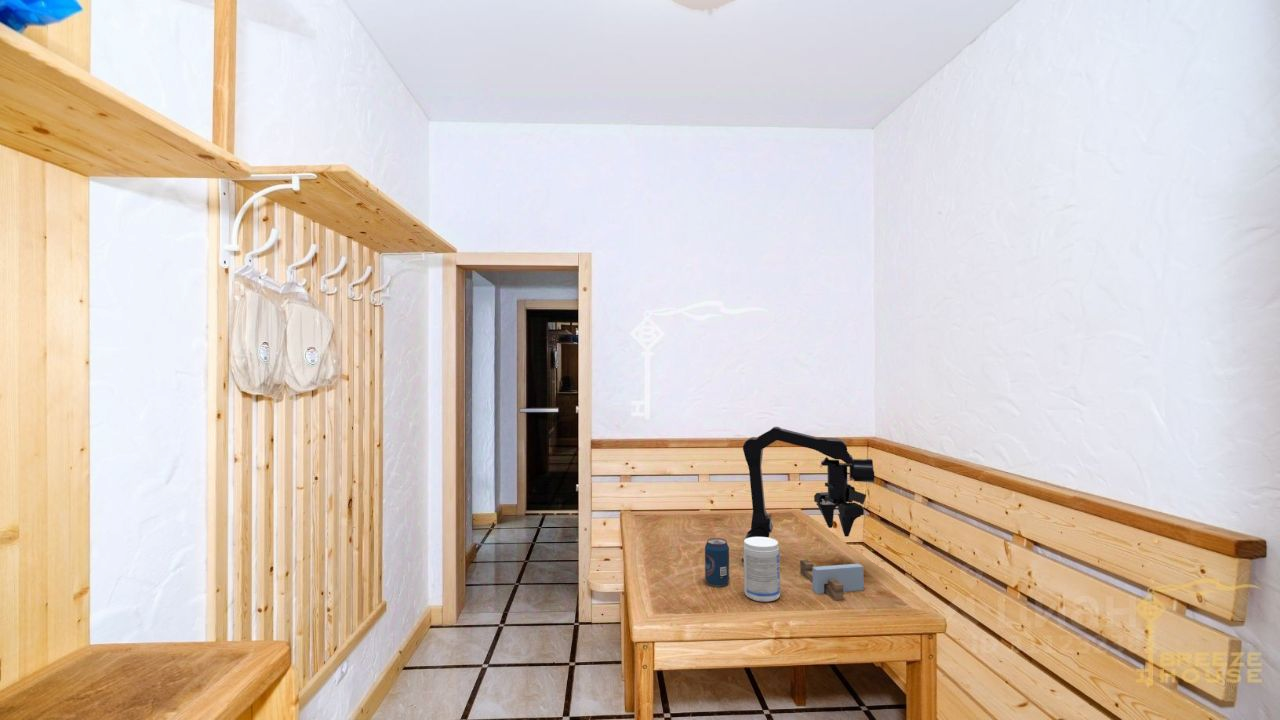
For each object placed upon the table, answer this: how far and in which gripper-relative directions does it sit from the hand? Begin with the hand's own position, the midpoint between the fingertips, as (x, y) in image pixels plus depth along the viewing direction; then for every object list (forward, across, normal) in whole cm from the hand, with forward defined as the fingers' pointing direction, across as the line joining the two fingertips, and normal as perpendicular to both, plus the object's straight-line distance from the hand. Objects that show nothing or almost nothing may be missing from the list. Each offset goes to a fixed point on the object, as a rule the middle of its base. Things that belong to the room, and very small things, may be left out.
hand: (838, 531), depth 165 cm
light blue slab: (+12, -13, +8) cm, 19 cm away
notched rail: (+12, -9, +11) cm, 18 cm away
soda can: (+12, -1, +39) cm, 41 cm away
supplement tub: (+12, -12, +30) cm, 34 cm away
